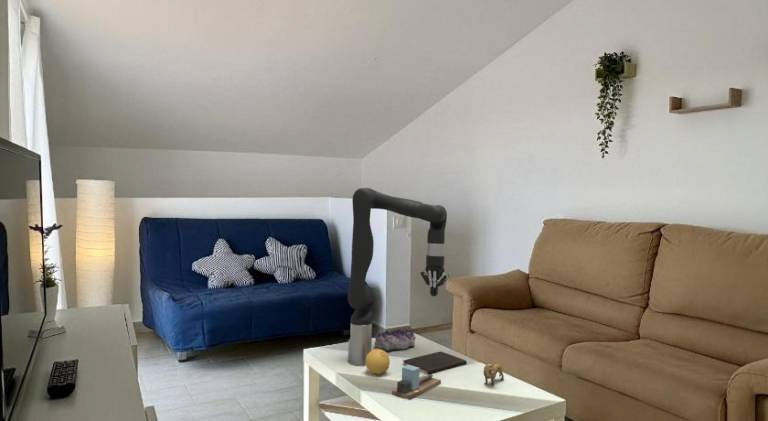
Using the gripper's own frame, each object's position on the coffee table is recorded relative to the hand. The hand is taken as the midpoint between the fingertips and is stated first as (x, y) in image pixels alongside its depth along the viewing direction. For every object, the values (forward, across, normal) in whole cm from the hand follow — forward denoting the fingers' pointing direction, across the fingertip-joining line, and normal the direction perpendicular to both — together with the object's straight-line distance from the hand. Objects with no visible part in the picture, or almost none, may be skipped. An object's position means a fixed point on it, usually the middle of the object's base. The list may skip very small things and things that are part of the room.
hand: (433, 295), depth 227 cm
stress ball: (+32, -16, -16) cm, 39 cm away
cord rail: (+32, +6, -20) cm, 38 cm away
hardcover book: (+33, -4, +9) cm, 34 cm away
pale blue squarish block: (+30, +6, -24) cm, 39 cm away
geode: (+32, -31, +17) cm, 48 cm away
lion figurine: (+32, +26, +5) cm, 41 cm away
